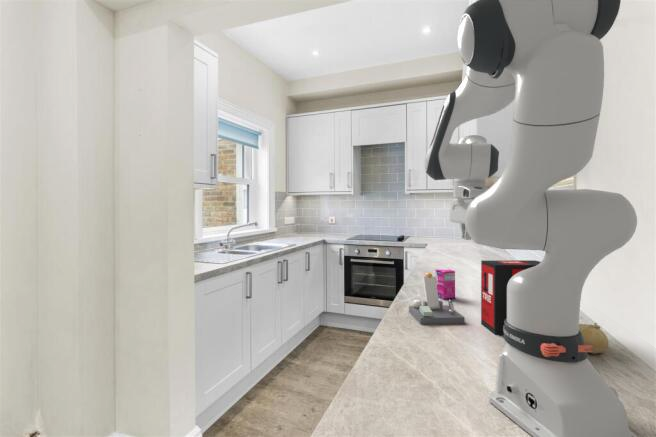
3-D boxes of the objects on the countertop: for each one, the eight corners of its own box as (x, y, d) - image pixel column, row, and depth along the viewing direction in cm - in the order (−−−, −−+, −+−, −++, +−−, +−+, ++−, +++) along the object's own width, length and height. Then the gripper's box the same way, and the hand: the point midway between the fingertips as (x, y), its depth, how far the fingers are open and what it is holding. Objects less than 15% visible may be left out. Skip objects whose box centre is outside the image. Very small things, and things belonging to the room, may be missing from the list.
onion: (589, 359, 76) (590, 329, 76) (559, 345, 84) (560, 318, 84) (616, 356, 78) (617, 327, 78) (584, 343, 86) (585, 316, 85)
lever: (440, 308, 108) (435, 271, 112) (428, 308, 107) (423, 272, 112) (437, 309, 110) (432, 273, 114) (426, 309, 110) (421, 273, 114)
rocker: (432, 315, 101) (432, 311, 101) (423, 316, 101) (423, 312, 101) (427, 310, 105) (428, 306, 105) (419, 310, 105) (419, 306, 105)
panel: (464, 323, 101) (464, 308, 101) (420, 324, 100) (420, 309, 100) (447, 310, 114) (447, 297, 114) (408, 311, 113) (408, 298, 113)
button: (422, 307, 110) (422, 301, 110) (414, 307, 110) (414, 302, 110) (420, 305, 113) (420, 299, 113) (412, 305, 113) (412, 299, 113)
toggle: (455, 313, 103) (453, 299, 105) (450, 313, 103) (448, 299, 105) (454, 313, 104) (452, 300, 106) (449, 313, 104) (446, 300, 106)
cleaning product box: (534, 324, 100) (535, 260, 99) (554, 335, 91) (554, 265, 91) (481, 324, 100) (481, 260, 100) (495, 334, 91) (495, 265, 91)
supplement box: (434, 296, 133) (434, 269, 133) (446, 295, 135) (446, 268, 135) (443, 300, 128) (443, 271, 127) (455, 298, 129) (455, 270, 129)
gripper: (446, 193, 105) (443, 235, 106) (473, 191, 85) (469, 243, 85) (465, 194, 105) (463, 236, 106) (497, 192, 85) (493, 243, 85)
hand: (466, 239), depth 95 cm, fingers closed
